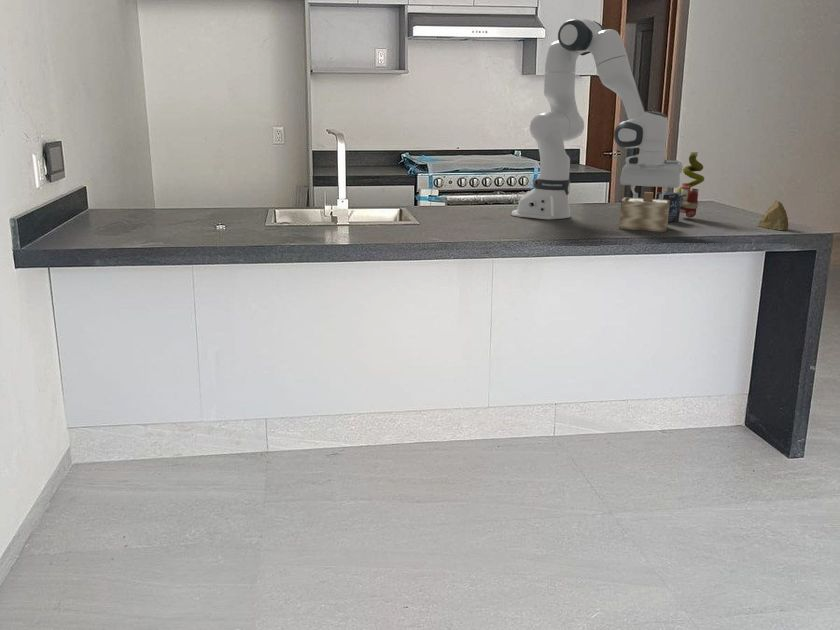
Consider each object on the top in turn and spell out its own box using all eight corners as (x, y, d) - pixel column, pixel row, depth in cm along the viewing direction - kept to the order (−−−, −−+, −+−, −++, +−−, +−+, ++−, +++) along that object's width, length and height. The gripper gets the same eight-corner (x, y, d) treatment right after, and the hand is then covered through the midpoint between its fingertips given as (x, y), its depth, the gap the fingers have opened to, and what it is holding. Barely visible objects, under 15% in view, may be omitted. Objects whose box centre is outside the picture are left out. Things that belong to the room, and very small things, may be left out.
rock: (797, 225, 280) (790, 217, 289) (785, 206, 278) (778, 198, 287) (768, 242, 284) (762, 233, 293) (757, 223, 282) (750, 214, 291)
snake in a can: (670, 215, 311) (677, 150, 304) (696, 216, 310) (704, 151, 303) (675, 220, 300) (682, 153, 293) (703, 221, 299) (711, 154, 292)
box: (665, 223, 295) (668, 194, 292) (653, 220, 299) (656, 192, 296) (679, 221, 299) (682, 193, 296) (667, 219, 303) (670, 191, 300)
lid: (627, 206, 279) (628, 193, 278) (629, 202, 287) (630, 190, 286) (665, 208, 275) (667, 195, 274) (667, 205, 283) (668, 192, 281)
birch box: (618, 228, 281) (621, 200, 279) (621, 224, 290) (624, 197, 288) (665, 231, 276) (668, 203, 274) (667, 227, 285) (670, 200, 283)
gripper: (683, 160, 276) (679, 199, 280) (623, 157, 282) (619, 196, 286) (682, 161, 270) (678, 202, 274) (621, 158, 277) (617, 198, 281)
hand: (647, 199), depth 280 cm, fingers open, 7 cm apart
